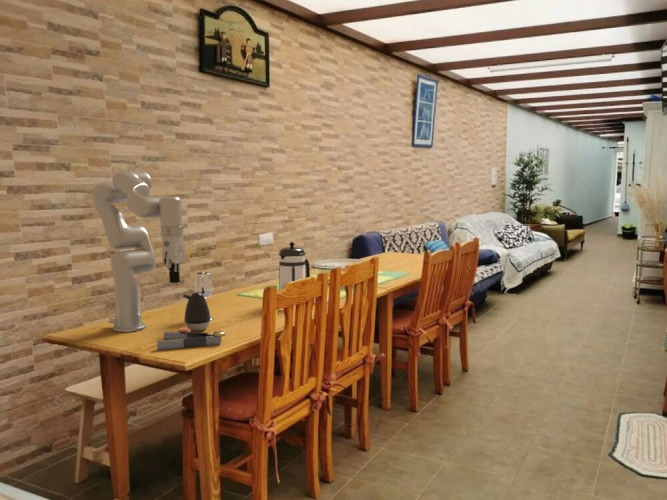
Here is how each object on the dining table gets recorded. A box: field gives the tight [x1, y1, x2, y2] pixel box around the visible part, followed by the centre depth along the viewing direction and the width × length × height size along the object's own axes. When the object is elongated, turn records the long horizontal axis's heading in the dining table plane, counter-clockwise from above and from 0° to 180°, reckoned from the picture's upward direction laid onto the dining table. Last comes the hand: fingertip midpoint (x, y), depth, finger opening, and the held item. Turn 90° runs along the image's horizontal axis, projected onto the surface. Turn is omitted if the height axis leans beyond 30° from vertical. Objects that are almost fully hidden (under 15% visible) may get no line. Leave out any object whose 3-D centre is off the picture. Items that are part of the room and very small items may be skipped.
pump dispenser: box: [182, 291, 211, 332], centre depth 229 cm, size 10×10×15 cm
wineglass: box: [193, 271, 215, 321], centre depth 246 cm, size 8×8×20 cm
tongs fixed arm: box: [163, 330, 227, 344], centre depth 212 cm, size 24×4×4 cm, turn 80°
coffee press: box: [278, 241, 311, 290], centre depth 274 cm, size 17×16×30 cm
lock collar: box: [177, 327, 192, 333], centre depth 216 cm, size 3×4×4 cm
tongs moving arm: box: [156, 336, 221, 351], centre depth 206 cm, size 22×2×3 cm, turn 108°
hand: (174, 282), depth 206 cm, fingers closed
